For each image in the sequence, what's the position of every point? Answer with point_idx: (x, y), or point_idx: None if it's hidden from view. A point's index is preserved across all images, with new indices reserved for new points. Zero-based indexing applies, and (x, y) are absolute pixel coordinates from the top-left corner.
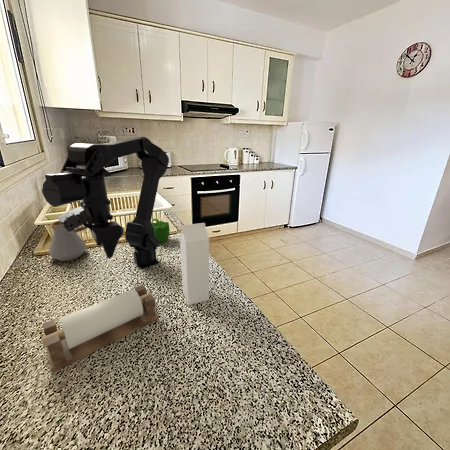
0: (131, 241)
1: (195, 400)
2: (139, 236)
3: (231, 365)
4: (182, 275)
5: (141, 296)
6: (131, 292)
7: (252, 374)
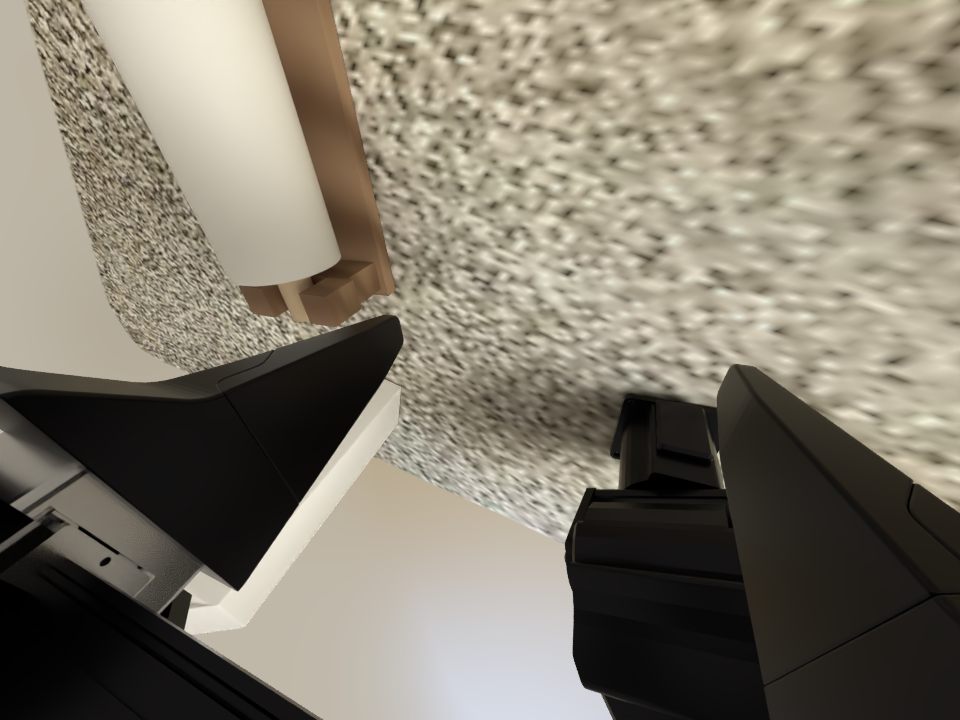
0: (668, 524)
1: (133, 223)
2: (577, 572)
3: (193, 310)
4: (353, 430)
5: (284, 288)
6: (234, 268)
7: (180, 320)
